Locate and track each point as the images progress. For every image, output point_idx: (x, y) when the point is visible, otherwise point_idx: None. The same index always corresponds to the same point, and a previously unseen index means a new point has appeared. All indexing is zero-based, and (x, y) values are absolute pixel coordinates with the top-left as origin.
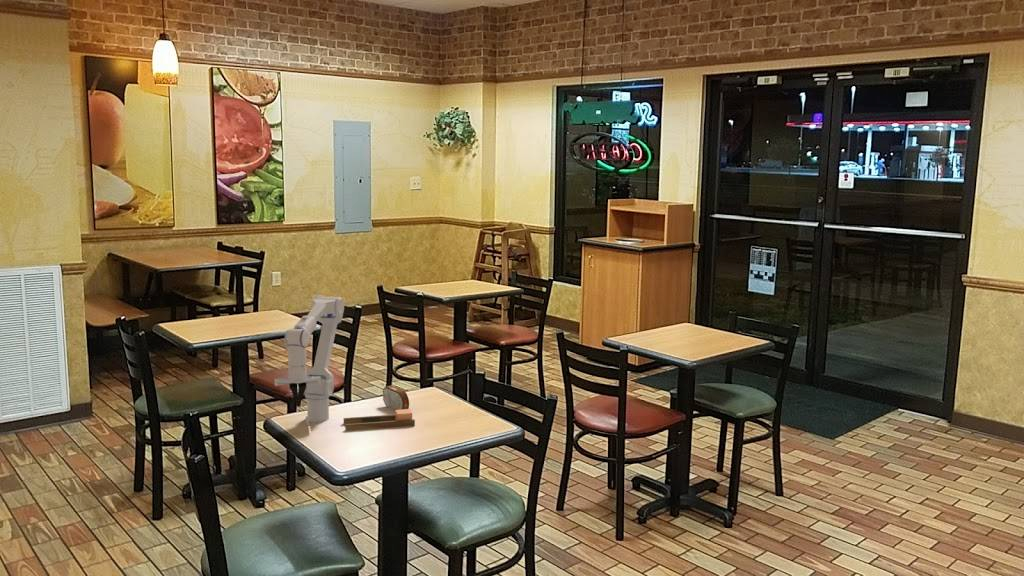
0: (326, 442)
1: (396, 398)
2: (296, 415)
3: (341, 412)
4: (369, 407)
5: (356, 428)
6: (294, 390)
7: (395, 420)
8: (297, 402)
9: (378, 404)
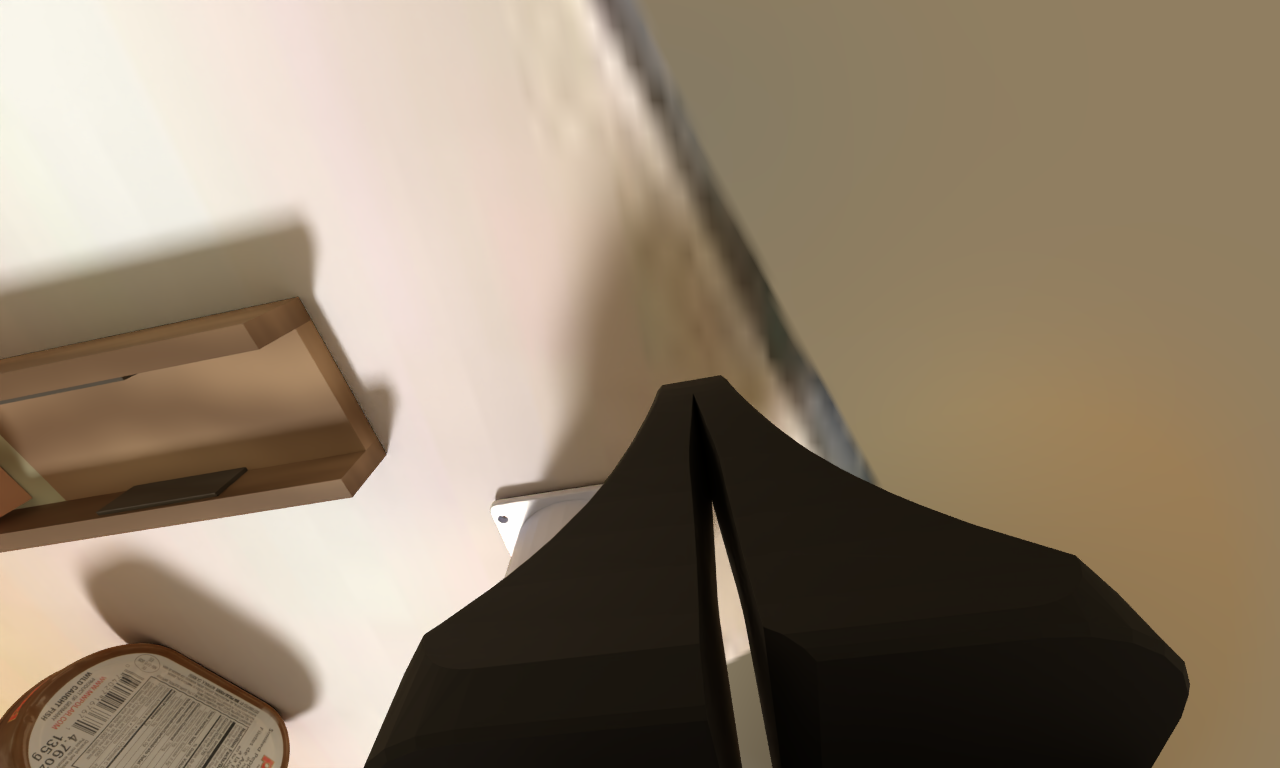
0: (371, 41)
1: (109, 745)
2: (735, 637)
3: None
4: (371, 713)
5: (191, 327)
6: (869, 550)
7: (22, 499)
8: (710, 399)
9: (345, 741)
